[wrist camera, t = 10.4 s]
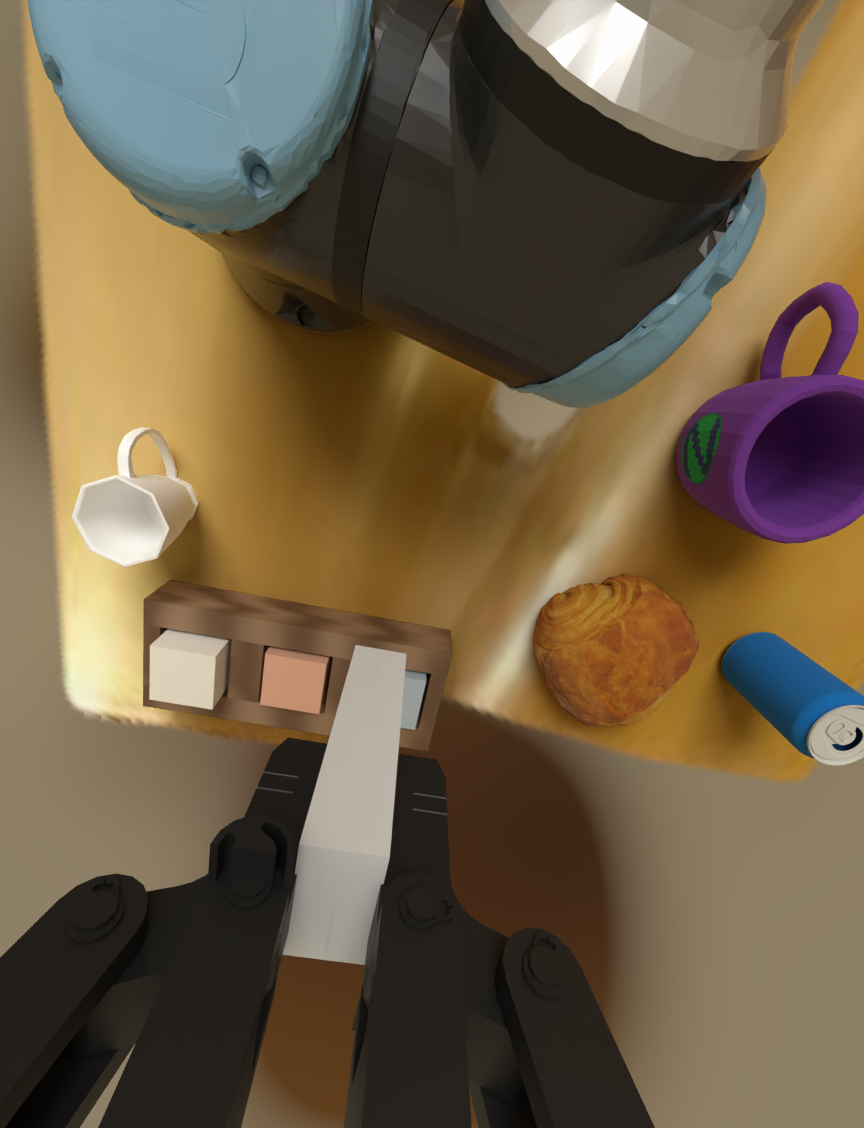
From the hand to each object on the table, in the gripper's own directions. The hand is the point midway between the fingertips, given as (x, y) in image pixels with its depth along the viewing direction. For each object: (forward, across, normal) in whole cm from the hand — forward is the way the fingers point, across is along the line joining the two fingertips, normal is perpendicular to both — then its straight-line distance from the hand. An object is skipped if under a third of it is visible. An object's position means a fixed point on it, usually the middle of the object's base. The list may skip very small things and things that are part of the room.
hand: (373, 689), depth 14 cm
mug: (+31, +26, +12) cm, 42 cm away
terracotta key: (+30, -7, -18) cm, 36 cm away
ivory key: (+28, -16, -18) cm, 37 cm away
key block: (+30, -7, -18) cm, 36 cm away
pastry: (+31, +22, -11) cm, 39 cm away
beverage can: (+31, +37, -10) cm, 49 cm away
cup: (+31, -20, -4) cm, 37 cm away
